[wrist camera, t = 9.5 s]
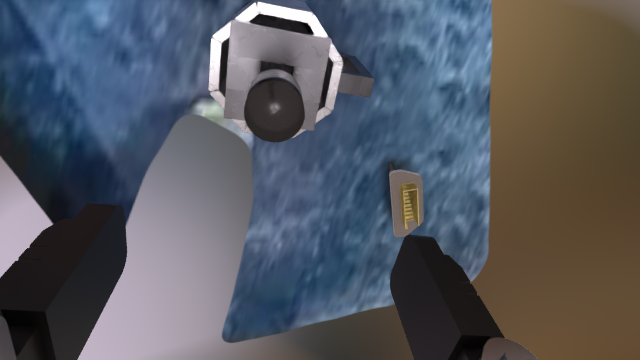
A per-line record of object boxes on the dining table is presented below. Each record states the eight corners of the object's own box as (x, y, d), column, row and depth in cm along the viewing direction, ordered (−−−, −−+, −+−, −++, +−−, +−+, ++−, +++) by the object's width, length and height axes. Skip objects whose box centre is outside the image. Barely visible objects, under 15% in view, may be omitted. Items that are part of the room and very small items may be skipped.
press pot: (234, -16, 37) (210, -8, 24) (358, 10, 39) (397, 30, 26) (227, 81, 42) (203, 132, 29) (338, 99, 44) (363, 154, 31)
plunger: (242, 4, 34) (212, 34, 19) (319, 20, 36) (351, 60, 20) (236, 81, 38) (205, 162, 22) (306, 93, 39) (324, 177, 23)
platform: (439, 115, 47) (461, 135, 41) (439, 228, 56) (457, 257, 50) (345, 132, 47) (354, 155, 41) (361, 242, 56) (370, 273, 50)
